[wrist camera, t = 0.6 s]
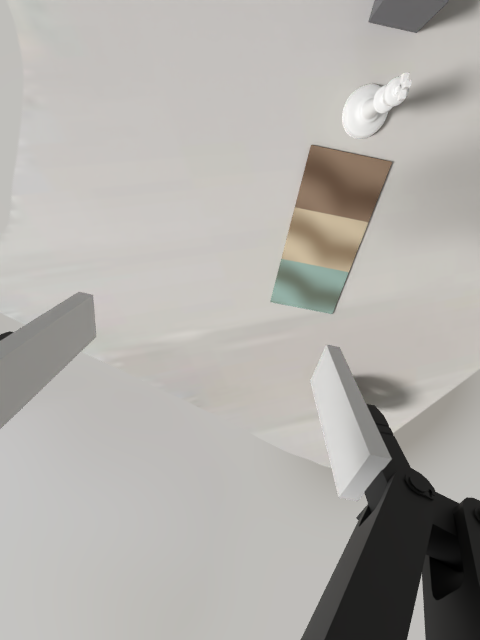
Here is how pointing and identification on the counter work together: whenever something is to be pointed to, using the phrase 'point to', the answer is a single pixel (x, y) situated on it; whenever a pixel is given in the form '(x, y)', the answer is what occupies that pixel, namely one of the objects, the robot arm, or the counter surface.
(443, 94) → the counter surface
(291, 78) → the counter surface
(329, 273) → the track
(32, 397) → the robot arm
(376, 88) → the chess piece
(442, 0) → the die
